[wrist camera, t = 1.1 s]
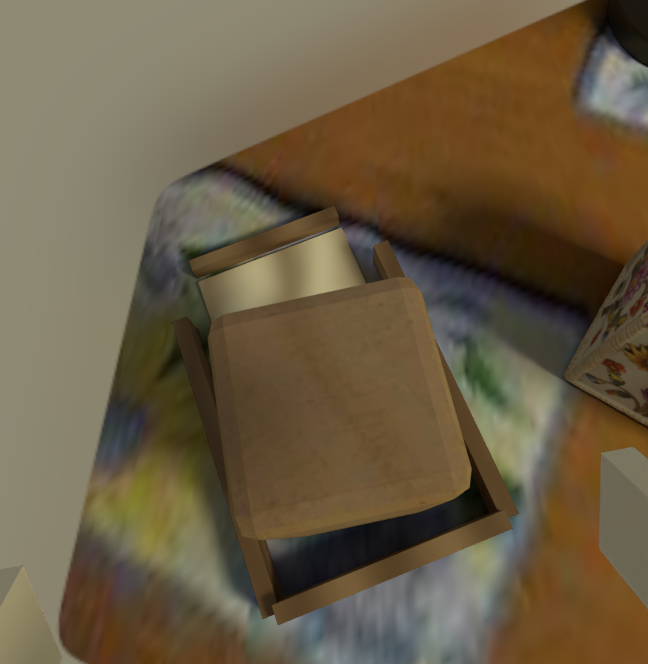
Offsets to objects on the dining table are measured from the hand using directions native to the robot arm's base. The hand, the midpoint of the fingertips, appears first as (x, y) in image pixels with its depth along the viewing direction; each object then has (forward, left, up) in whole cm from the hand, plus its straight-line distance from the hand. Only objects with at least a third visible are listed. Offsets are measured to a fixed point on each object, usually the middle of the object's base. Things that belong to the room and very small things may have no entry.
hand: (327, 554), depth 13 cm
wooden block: (-2, -6, -29) cm, 30 cm away
